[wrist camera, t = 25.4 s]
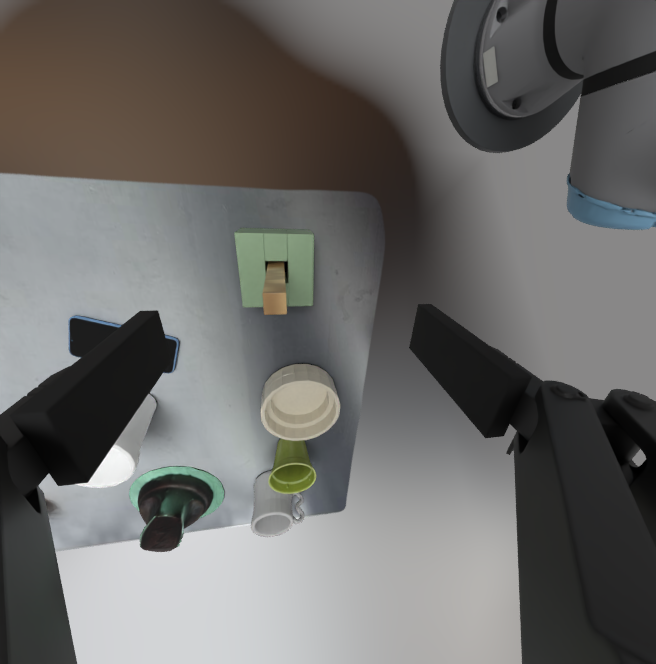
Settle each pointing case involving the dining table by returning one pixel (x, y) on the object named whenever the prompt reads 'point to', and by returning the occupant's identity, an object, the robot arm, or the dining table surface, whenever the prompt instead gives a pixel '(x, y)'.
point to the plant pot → (291, 468)
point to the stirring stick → (275, 289)
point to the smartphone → (104, 337)
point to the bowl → (299, 402)
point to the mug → (273, 509)
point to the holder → (275, 246)
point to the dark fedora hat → (173, 503)
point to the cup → (124, 449)
